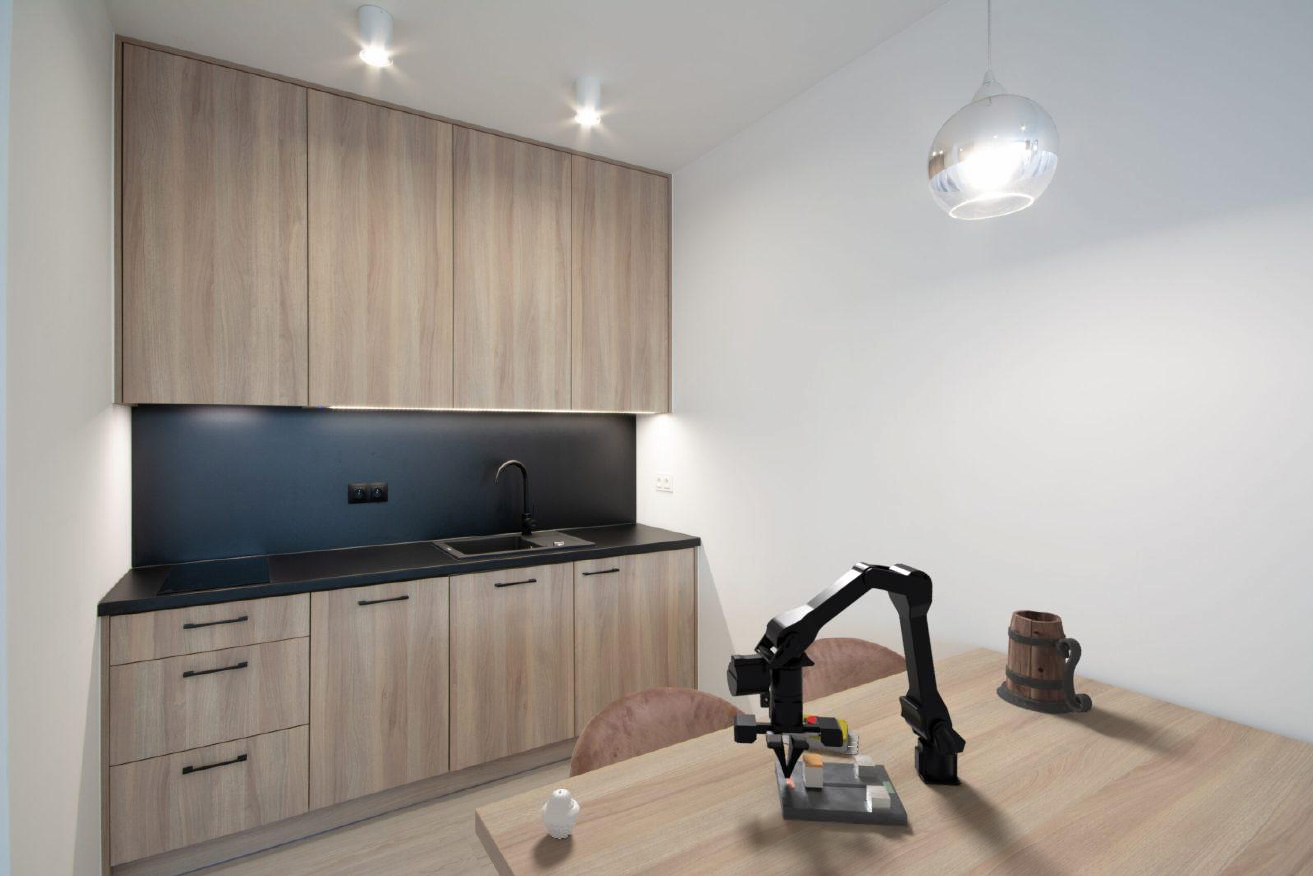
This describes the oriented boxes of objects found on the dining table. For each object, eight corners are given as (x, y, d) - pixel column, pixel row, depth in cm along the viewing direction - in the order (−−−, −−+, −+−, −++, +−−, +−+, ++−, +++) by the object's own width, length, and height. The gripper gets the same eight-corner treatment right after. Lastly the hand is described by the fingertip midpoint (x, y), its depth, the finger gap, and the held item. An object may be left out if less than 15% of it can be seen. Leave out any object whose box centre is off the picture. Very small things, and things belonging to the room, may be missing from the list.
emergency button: (787, 705, 139) (859, 716, 134) (787, 725, 139) (858, 736, 134) (781, 724, 130) (857, 736, 125) (781, 745, 130) (857, 758, 125)
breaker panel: (883, 775, 118) (883, 754, 118) (907, 826, 103) (907, 802, 103) (775, 770, 120) (775, 749, 120) (783, 819, 105) (783, 795, 105)
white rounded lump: (546, 850, 98) (545, 805, 98) (537, 827, 103) (537, 784, 103) (584, 839, 100) (584, 796, 100) (574, 817, 106) (573, 776, 106)
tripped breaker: (819, 776, 114) (819, 754, 114) (822, 787, 110) (822, 765, 110) (802, 775, 114) (802, 753, 114) (805, 786, 110) (805, 764, 110)
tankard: (980, 686, 159) (981, 607, 158) (1040, 681, 161) (1041, 603, 161) (1053, 730, 136) (1053, 637, 135) (1122, 724, 138) (1122, 633, 138)
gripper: (832, 674, 119) (832, 756, 120) (732, 671, 121) (733, 752, 121) (843, 699, 108) (844, 789, 108) (734, 696, 110) (734, 784, 110)
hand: (786, 777), depth 112 cm, fingers closed
